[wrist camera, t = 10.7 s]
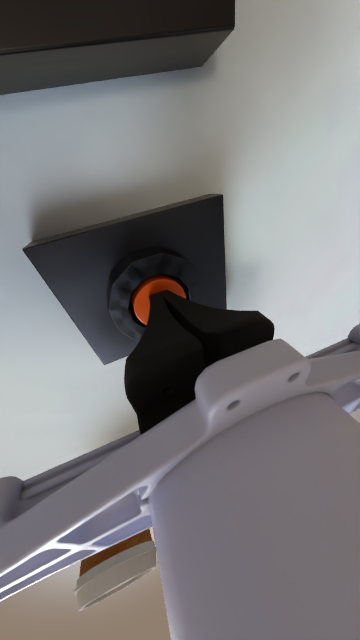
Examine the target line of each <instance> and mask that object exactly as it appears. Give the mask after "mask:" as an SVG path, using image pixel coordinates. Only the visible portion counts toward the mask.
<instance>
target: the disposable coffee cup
mask: <svg viewBox="0 0 360 640" xmlns="http://www.w3.org/2000/svg"><path fill="white" fill-rule="evenodd" d="M155 568H156V547H155V544H154V541H152V538H151V534H150V530H149V528H148V529H146V530H144V531H142V532H140V533H138V534H136V535H134V536H132V537H129V538H127V539H125V540H123V541H121V542H119V543H117V544H115V545H113V546H110V547H108V548H106V549H104V550H102V551H100V552H98V553H96V554H94V555H91V556H89V557H87V558H85V559H83V560H81V567H80V577H79V579H78V580H77V588H76V589H75V591H74V595H77V606H78V611H81V610H84V609H86V608H88V607H90V606H92V605H94V604H96V603H98V602H100V601H102V600H104V599H106V598H108V597H110V596H111V595H113V594H115V593H117V592H118V591H120V590H122V589H124V588H125V587H127V586H129V585H130V584H132V583H134V582H135V581H137V580H139V579H140V578H142V577H143V576H145V575H146V574H148V573H149V572H151V571H152V570H153V569H155Z"/></svg>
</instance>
